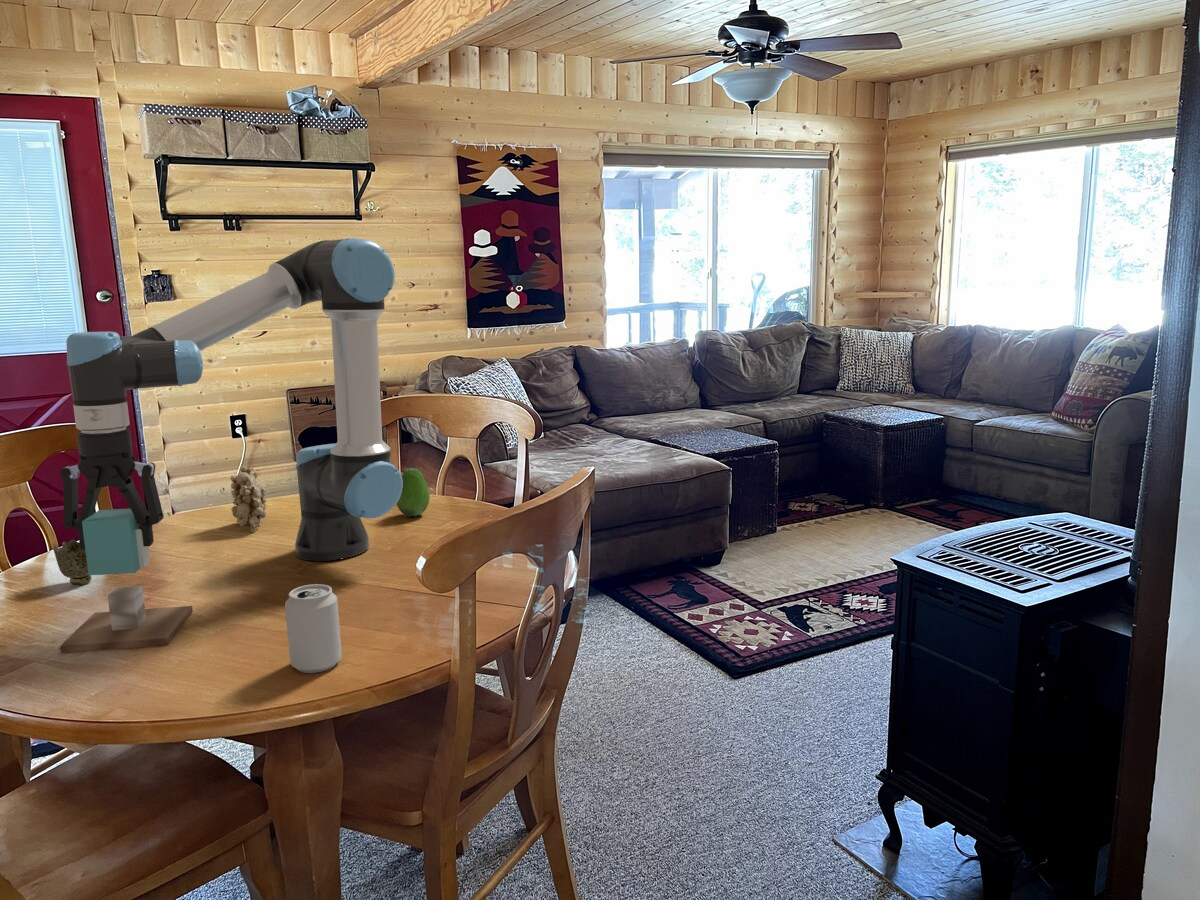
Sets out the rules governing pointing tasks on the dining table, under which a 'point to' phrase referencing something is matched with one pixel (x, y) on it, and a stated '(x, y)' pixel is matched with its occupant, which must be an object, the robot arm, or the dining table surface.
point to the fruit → (413, 493)
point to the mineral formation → (248, 498)
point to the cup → (73, 562)
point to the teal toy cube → (111, 542)
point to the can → (313, 628)
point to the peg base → (127, 638)
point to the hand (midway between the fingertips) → (119, 566)
